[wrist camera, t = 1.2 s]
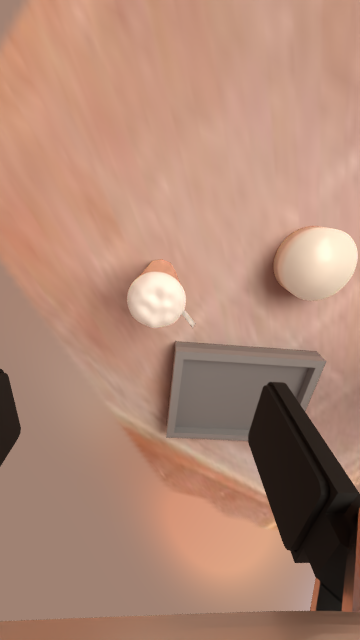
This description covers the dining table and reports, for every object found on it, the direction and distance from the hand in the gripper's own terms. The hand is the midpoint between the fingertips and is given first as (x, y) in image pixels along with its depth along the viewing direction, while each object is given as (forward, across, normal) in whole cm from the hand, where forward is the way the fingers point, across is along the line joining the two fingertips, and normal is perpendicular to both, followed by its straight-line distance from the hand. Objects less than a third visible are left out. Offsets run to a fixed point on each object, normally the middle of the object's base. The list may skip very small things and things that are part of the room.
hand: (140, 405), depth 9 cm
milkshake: (+19, -1, 0) cm, 19 cm away
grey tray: (+19, -12, +15) cm, 27 cm away
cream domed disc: (+19, -16, -3) cm, 25 cm away
